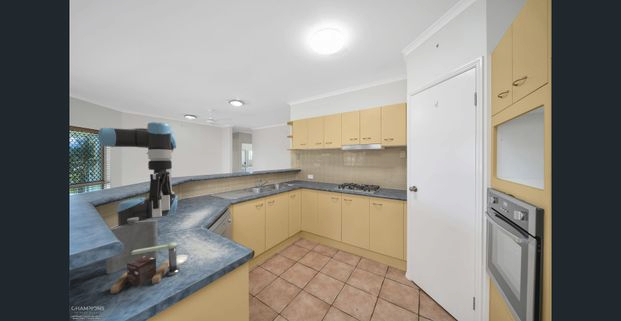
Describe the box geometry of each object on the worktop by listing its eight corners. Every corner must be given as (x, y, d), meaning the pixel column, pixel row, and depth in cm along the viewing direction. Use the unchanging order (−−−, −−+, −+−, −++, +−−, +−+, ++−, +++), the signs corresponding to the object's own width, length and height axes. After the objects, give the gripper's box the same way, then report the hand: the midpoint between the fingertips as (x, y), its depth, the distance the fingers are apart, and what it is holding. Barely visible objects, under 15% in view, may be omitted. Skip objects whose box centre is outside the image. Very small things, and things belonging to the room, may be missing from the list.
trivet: (165, 259, 81) (165, 257, 81) (189, 254, 85) (189, 252, 85) (158, 270, 73) (158, 268, 73) (184, 264, 77) (184, 262, 77)
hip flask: (106, 275, 71) (105, 224, 71) (106, 270, 74) (105, 222, 73) (158, 257, 83) (157, 214, 82) (157, 254, 85) (156, 213, 85)
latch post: (168, 270, 73) (167, 246, 72) (181, 268, 74) (180, 244, 74) (164, 277, 68) (163, 251, 68) (178, 274, 70) (177, 249, 70)
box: (126, 283, 66) (126, 263, 66) (146, 273, 71) (145, 255, 71) (138, 286, 64) (137, 266, 64) (156, 276, 70) (156, 257, 69)
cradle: (126, 276, 70) (126, 271, 70) (168, 267, 75) (167, 262, 75) (110, 294, 60) (110, 288, 60) (159, 282, 66) (158, 277, 66)
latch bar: (134, 252, 68) (134, 249, 68) (178, 244, 73) (177, 241, 73) (130, 256, 65) (130, 252, 65) (175, 247, 71) (175, 244, 71)
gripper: (159, 160, 84) (160, 207, 84) (135, 160, 64) (137, 222, 64) (178, 160, 87) (179, 205, 87) (161, 159, 67) (163, 219, 67)
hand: (161, 213), depth 76 cm, fingers open, 10 cm apart
